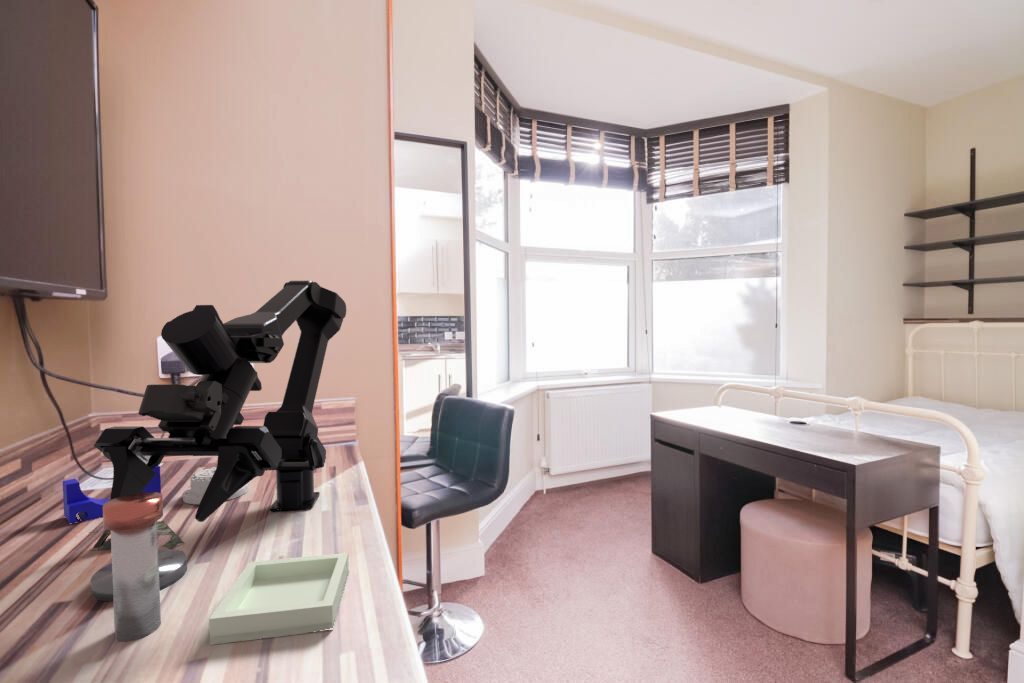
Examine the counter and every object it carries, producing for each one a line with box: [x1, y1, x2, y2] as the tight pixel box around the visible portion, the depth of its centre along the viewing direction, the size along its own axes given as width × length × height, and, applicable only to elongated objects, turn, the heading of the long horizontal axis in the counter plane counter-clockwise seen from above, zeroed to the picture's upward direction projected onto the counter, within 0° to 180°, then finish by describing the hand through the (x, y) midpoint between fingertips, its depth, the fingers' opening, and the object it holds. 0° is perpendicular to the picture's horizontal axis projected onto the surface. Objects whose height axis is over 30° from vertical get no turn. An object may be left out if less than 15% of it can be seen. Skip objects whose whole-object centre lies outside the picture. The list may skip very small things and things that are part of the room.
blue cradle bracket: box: [62, 465, 162, 524], centre depth 79 cm, size 12×4×6 cm, turn 141°
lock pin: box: [102, 492, 164, 642], centre depth 48 cm, size 5×5×13 cm
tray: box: [208, 552, 350, 646], centre depth 52 cm, size 11×11×2 cm
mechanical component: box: [181, 466, 250, 505], centre depth 86 cm, size 10×4×10 cm
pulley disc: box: [90, 548, 188, 602], centre depth 57 cm, size 9×9×2 cm
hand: (154, 520), depth 50 cm, fingers open, 9 cm apart
